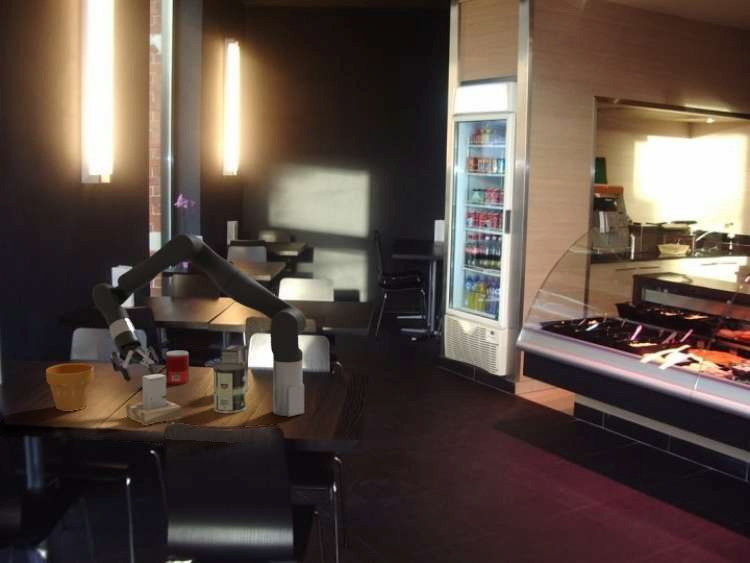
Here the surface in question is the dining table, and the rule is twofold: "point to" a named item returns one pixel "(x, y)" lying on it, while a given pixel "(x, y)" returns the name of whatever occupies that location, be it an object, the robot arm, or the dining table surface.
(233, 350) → the coffee box
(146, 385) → the skincare box
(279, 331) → the robot arm
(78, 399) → the flower pot
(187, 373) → the canned food
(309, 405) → the dining table surface
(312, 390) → the dining table surface
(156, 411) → the frame
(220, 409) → the coffee can
